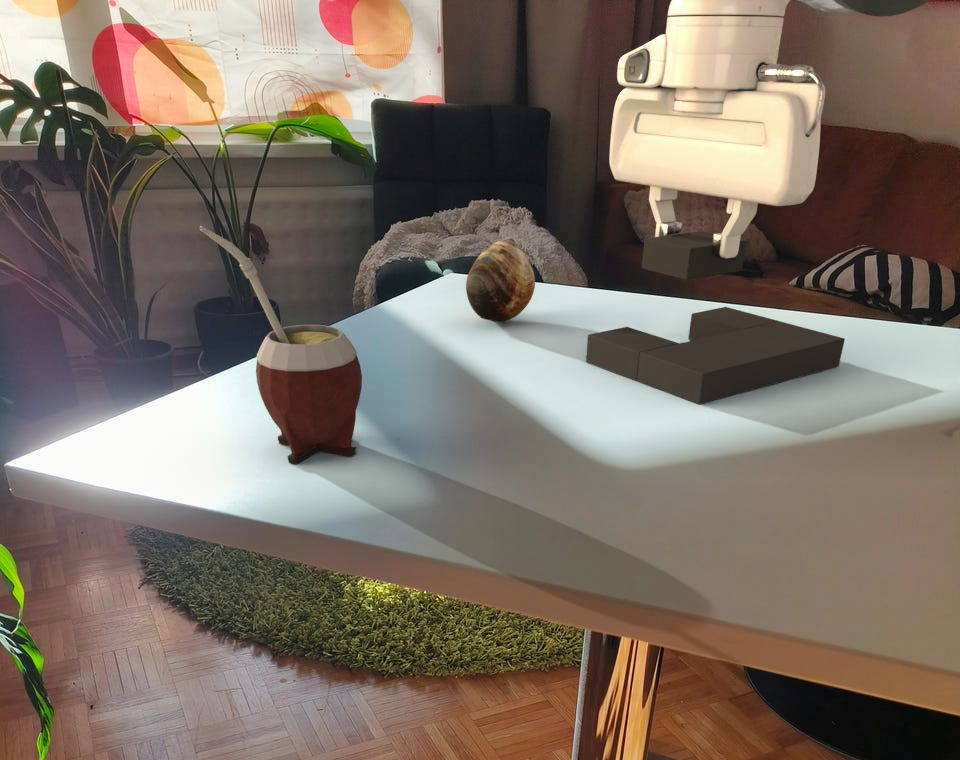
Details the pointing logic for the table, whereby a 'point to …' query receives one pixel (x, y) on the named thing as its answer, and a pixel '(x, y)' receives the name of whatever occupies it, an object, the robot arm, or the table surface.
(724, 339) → the big pad
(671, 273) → the small block
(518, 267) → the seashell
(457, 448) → the table surface
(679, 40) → the robot arm
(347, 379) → the mate gourd
